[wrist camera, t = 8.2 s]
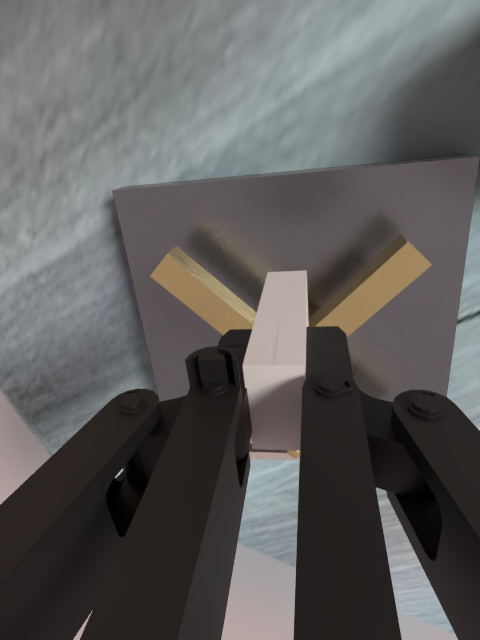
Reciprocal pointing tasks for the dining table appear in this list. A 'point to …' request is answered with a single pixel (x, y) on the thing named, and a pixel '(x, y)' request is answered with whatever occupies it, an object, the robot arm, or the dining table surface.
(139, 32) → the dining table surface
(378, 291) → the capstan
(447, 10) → the dining table surface
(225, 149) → the dining table surface
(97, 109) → the dining table surface
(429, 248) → the stand
